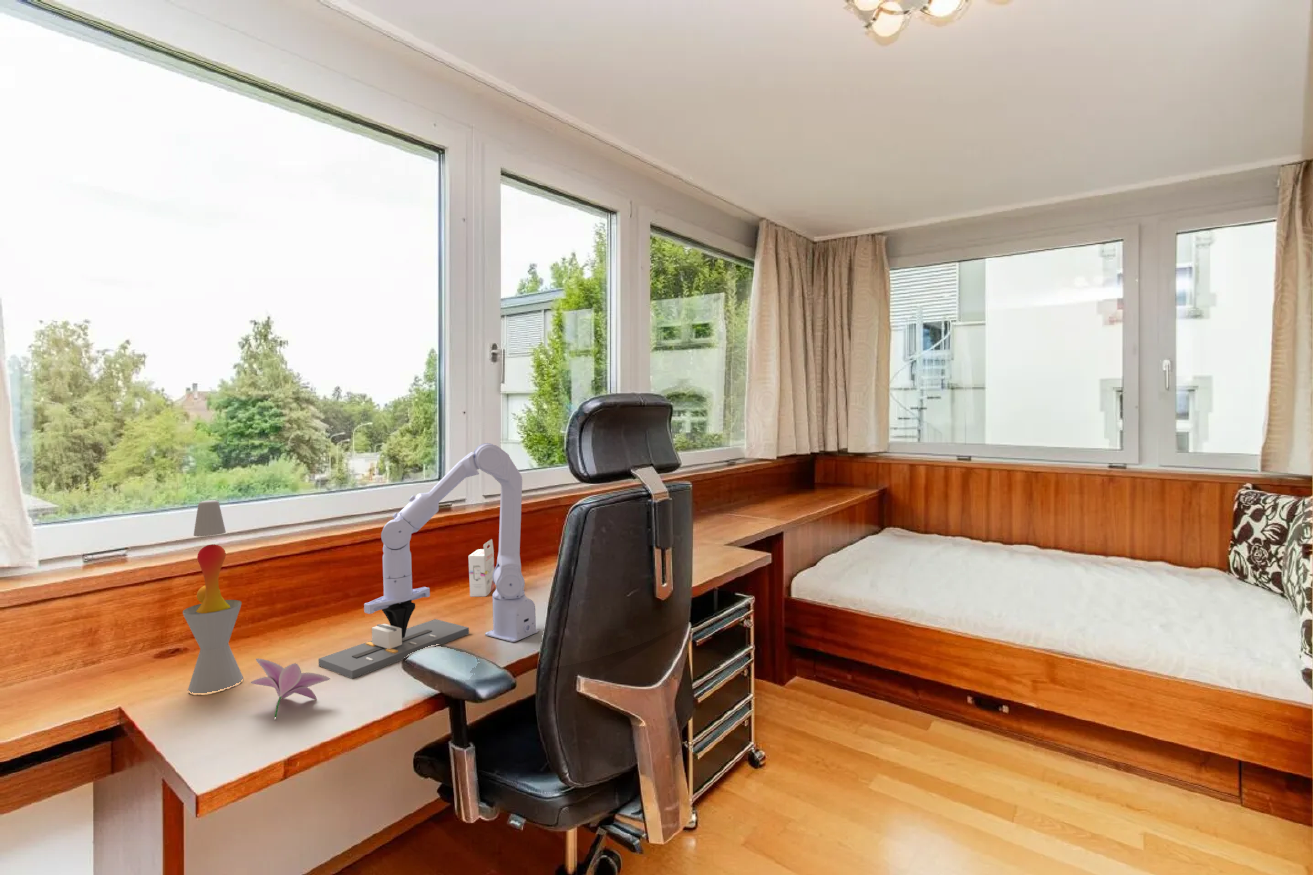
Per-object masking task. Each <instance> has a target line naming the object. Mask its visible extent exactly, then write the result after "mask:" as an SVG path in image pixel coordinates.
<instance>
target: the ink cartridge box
mask: <svg viewBox="0 0 1313 875" xmlns="http://www.w3.org/2000/svg"><path fill="white" fill-rule="evenodd" d="M482 547H483V548H480V549H479V548H478V549H475V551H473V552H472V553H471V554H469V555H468V577H469V578H468V579H469V597H470V598H471V597H472V598H473V597H487V596H488V595H489V594H490V593H492V591H493V590H495V589H496V585H495V583H494V582H493V578H492V575H493V571H494V569H495V556H494V554H495V552H494V551H495V549H494V542H493V539H492V538H491V539H489V540H488V541H487V542H485V543H484V544H483V546H482Z"/></svg>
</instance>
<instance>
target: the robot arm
mask: <svg viewBox="0 0 1313 875" xmlns="http://www.w3.org/2000/svg"><path fill="white" fill-rule="evenodd" d="M478 470H480V471H482V472H483V473H486V474H487V475H490V476H492V477H493V478H494V480H496V481H497V482H498V483H499V484H500V500H499V501H500V506H499V530H498V532H499V533H498V552H497V556H496V557H497V559H496V566H494V571H493V575H492V578H493V582H494V583H495V589H494V591H493V593H492V624H493V625H492V626H493V629H491V630H489V631H486V632H485V634H484V635H485V636H487V637H491V638H495V639H500V640H503V641H507V642H511V643H516V642H518V641H520V640H523V639H525V638H527V637H529V636H533V635H534V634H537V633H539V629H537V627H536V626H537V622H536V620H537V618H536V605H535V602H534V600H532V599H530V598H528V597H527V596H526V594H525V585H526V583H525V578H524V576H523V573H522V563H521V561H522V560H521V554H520V553H521V548H520V547H521V528H522V527H521V526H522V525H521V523H522V503H523V502H522V498H523V495H522V492H523V477H522V474H521V473H520V471H519V470H518V468H517V466H516V465H515V463H514V461H513V459H511V457H510V455H509V454H508V452H506V451H505V450H504V449H502V448H501V447H499V446H497V445H495V444H493V443H488V442H484V443H481V444H479V445H478V446H477V447H476V448H475V449H474V451H470V452H469V453H468V454H466V455H465V456H464V457H463V458H461V459H460V460H459V461H458V462H456V463H455V464H454V466H452V468H451V469H450V470H448V471H447V473H446V474H445V475H444V476H443V477H442V478H441V479H440V480H439V481H438V482H436V484H435V485H434V486H433V487H432V488H431V489H430V490H429V491H428V492H419V493H417V494H416V496H415V495H414V494H412V495H411V496H410V497H409V498H408V501H409V502H408V503H407V504H406V505H405V506H404V507H403V508H402V509H401V510H400V511H399V512H398V513H397V512H394V513H393V514H392V518H393V519H391V520H389V521H387V522H386V524H385V525H384V526H383V528H382V531H381V534H380V538H381V542H382V543H383V547H382V552H383V554H382V577H383V578H382V579H383V580H382V582H383V585H382V586H383V596H380V597H378V598H375V599H373V600H371V601H369V602H365V603H364V604H363V606H364V607H363V611H364V613H365V614H368V615H372V614H374V613H375V612H378V611H382V612H383V614H384V615H385V617H386V619H387V621H388V622H389V623H388V624H389V625H392V626H395V627H399V628H402V638H404V637H405V634H406V629H407V628H408V625H409V622H410V619H411V616H412V614H413V612H414V611H415V609H416V603H415V602H413V601H415V600H419V599H421V598H429V597H431V592H430V591H431V590H430V587H426V586H422V587H418V588H413V572H412V552H411V550H410V549H411V548H410V544H411V543H410V541H411V539H412V534H414V533H417V532H419V531H420V530H421V528H423V527H424V526H425V525H426V524H427V522H429V521H430V520H431V519H432V518H433V517H434V516H435V515H436V514H437V513H438V512H439V510H440V507H439V504H440V502H441V501H442V500H443V499H444V498H445V497H447V495H448V494H449V493H451V492H452V491H453V490H454V489H455V488H456V487H457V486H458V485H459V484H461V482H463V481H464V480H465V479H466V478H470V477H474V476H477V475H480V473H479V471H478Z"/></svg>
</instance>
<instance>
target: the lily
mask: <svg viewBox="0 0 1313 875" xmlns="http://www.w3.org/2000/svg"><path fill="white" fill-rule="evenodd" d="M255 661H256V662H257V664H259V666H260V667H261V669H263V671H264V673H265V675H266V676H263V677H260V678H257V679H254V680H251V681H250V684H252V685H259V686H263V687H264V686H265V687H271V688H274V689H275V691H276V692H275V693H276V694H277V696H278V701H277V702H276V708H275V713H274V717H276V718H277V716H278V710H279V705H280V702H281V700H282V699H281V698H284V699H286V698H288V697H289V696H291V695H293V694H298V695H301V696H303V697H307V698H309V699H312V700H314V699H317V697H316V694H315V693H314V691H313V690H312V689H311V688H310V687H312V686H314V685H317V684H320V683H323V682H327V681H330V680H331V678H330V677H329V676H327V675H324V674H323V675H322V674H320V673H314V672H302V669H301V667H300V666H299V664H298V663H296V662H295V663H291V664H289V665H287V666H286V667H283V666H282V665H280V664H278V663H276V662H273V661H270V660H267V659H262V658H255Z"/></svg>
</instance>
